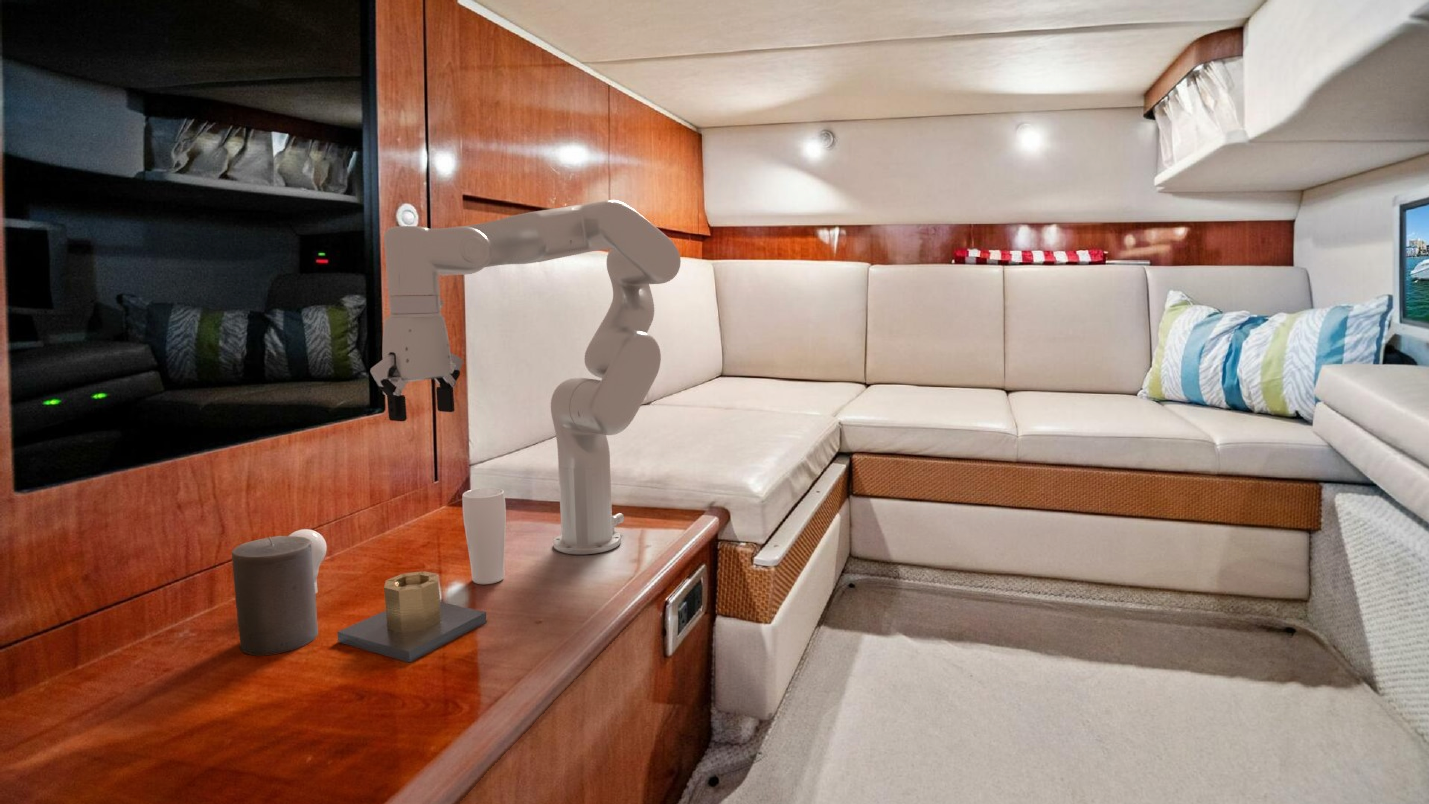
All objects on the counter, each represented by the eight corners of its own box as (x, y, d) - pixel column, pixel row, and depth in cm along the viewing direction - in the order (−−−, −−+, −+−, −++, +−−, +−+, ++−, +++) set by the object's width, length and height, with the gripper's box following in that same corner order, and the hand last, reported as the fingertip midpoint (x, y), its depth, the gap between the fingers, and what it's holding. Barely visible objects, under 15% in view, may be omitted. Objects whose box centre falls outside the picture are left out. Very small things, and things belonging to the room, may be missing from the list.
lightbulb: (296, 590, 129) (290, 525, 127) (337, 588, 129) (331, 523, 128) (278, 605, 122) (272, 537, 121) (321, 603, 123) (314, 535, 121)
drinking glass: (497, 588, 128) (492, 498, 126) (459, 586, 129) (453, 497, 127) (516, 573, 134) (511, 488, 132) (479, 571, 136) (474, 486, 134)
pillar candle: (237, 662, 104) (227, 552, 102) (242, 634, 112) (232, 532, 110) (320, 646, 108) (311, 541, 106) (318, 620, 117) (310, 522, 115)
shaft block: (418, 605, 121) (415, 565, 120) (486, 622, 115) (484, 579, 114) (338, 642, 109) (334, 597, 108) (409, 662, 103) (406, 615, 102)
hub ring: (416, 608, 117) (413, 569, 116) (451, 616, 113) (448, 576, 113) (377, 626, 111) (373, 585, 110) (412, 635, 107) (409, 593, 106)
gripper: (440, 306, 132) (447, 407, 135) (350, 309, 117) (360, 423, 120) (473, 306, 129) (479, 409, 131) (385, 309, 114) (394, 426, 116)
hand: (422, 415), depth 125 cm, fingers open, 9 cm apart
